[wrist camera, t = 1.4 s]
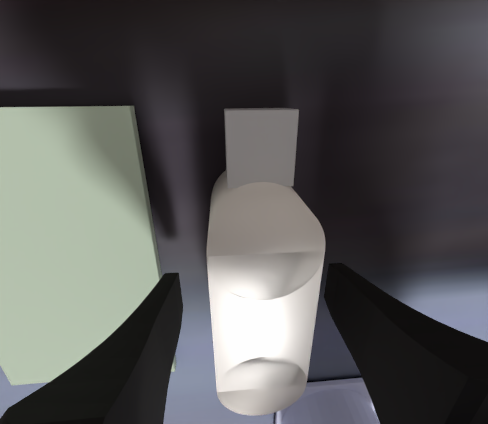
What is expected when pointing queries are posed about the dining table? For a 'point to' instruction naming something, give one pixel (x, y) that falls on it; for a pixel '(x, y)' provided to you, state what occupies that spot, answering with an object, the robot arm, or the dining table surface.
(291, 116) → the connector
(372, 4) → the dining table surface
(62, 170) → the mat
